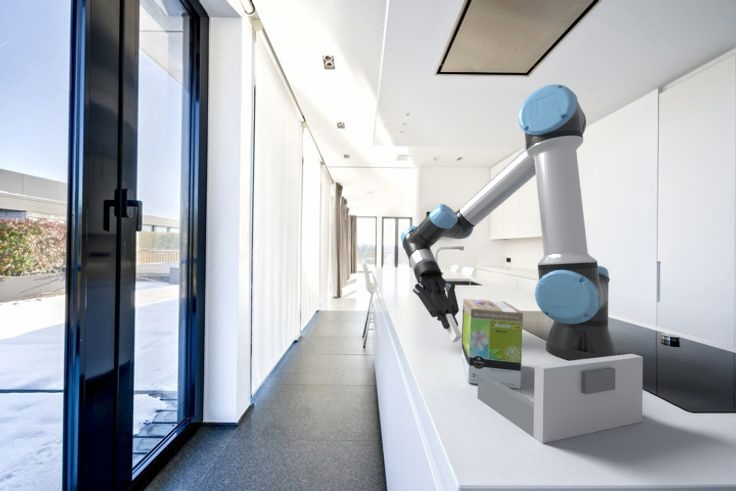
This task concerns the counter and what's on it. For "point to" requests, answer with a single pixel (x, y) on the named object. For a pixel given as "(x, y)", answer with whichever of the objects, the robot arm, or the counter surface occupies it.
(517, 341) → the tea box
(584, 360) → the grey drawer
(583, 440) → the counter surface
